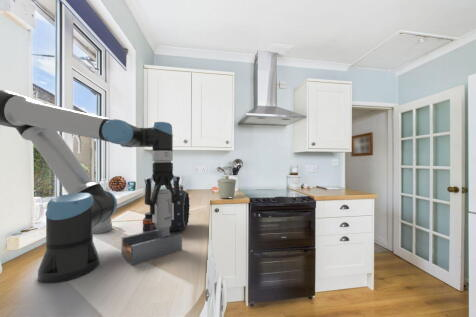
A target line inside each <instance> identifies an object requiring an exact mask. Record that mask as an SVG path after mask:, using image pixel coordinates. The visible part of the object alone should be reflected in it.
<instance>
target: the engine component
mask: <svg viewBox="0 0 476 317" xmlns="http://www.w3.org/2000/svg"><path fill="white" fill-rule="evenodd" d="M111 217H112V216H111ZM111 217H110V218H109V219H107V220H106V221H104V222H101V223H99V224H97V225H95V226H93V234H102V233H106V232H108V230H109V231H112V229H113V222H112V219H111ZM101 232H102V233H101Z"/></svg>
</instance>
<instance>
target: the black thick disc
mask: <svg viewBox="0 0 476 317" xmlns="http://www.w3.org/2000/svg"><path fill="white" fill-rule="evenodd" d="M172 190H173V193H174V189H172ZM179 191H180V200H179V201H177V203H175V205H176V209H175V211H174V220H171V226H170V228H169V231H173V232H174V231H181V230H184V229H186V228H187V227H188V224H189V220H190V219H189V217H190V208H191V207H190V205H191V204H190V197H189V196H190V195H189V192H188V191H185V190H183V189H179Z"/></svg>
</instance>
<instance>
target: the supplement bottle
mask: <svg viewBox="0 0 476 317" xmlns="http://www.w3.org/2000/svg"><path fill="white" fill-rule="evenodd" d="M152 230H157V228H156V227H155V223H153V222H152V214H150V211H149V212H145V213H144V218H143V219H142V233H143V232H148V231H152Z"/></svg>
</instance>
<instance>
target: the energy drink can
mask: <svg viewBox="0 0 476 317" xmlns="http://www.w3.org/2000/svg"><path fill="white" fill-rule="evenodd" d="M155 205H156V206H157V223H155V227H156V228H157V230H166V229H169V228H170V226H171V192H170V190H169V189H167V188H160V190H159V193H158V196H157V200H156V203H155Z"/></svg>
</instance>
